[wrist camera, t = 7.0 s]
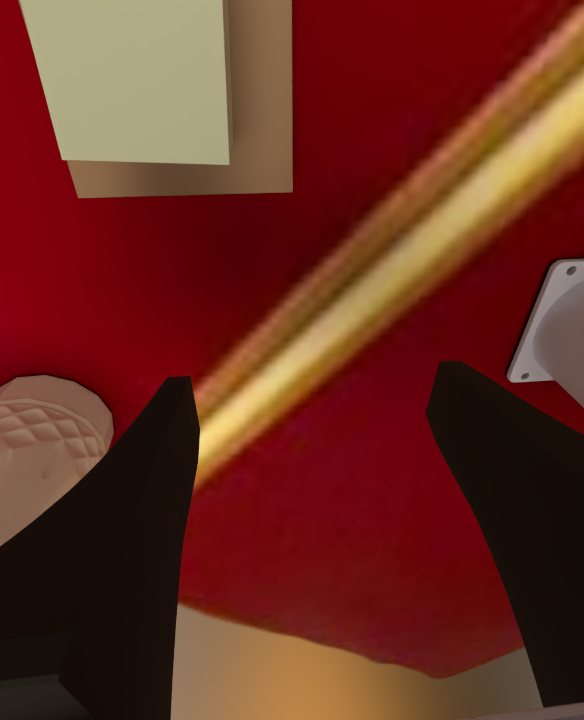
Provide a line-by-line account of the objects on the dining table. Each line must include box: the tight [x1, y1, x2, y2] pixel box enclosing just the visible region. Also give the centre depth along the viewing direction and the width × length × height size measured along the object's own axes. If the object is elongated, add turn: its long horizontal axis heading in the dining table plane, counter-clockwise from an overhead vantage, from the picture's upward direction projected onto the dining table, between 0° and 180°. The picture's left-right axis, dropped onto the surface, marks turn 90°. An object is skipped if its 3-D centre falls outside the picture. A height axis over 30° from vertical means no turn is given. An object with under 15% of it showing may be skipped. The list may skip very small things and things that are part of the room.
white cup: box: [0, 375, 114, 546], centre depth 19 cm, size 8×8×10 cm
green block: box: [20, 0, 233, 165], centre depth 11 cm, size 4×4×5 cm
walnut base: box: [18, 0, 293, 198], centre depth 14 cm, size 8×8×3 cm
